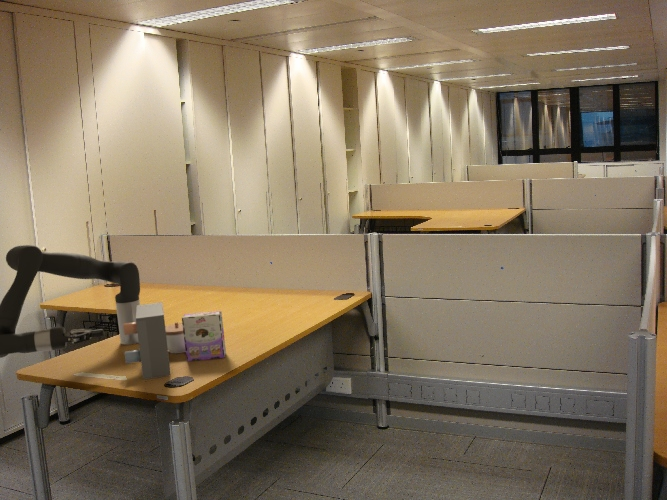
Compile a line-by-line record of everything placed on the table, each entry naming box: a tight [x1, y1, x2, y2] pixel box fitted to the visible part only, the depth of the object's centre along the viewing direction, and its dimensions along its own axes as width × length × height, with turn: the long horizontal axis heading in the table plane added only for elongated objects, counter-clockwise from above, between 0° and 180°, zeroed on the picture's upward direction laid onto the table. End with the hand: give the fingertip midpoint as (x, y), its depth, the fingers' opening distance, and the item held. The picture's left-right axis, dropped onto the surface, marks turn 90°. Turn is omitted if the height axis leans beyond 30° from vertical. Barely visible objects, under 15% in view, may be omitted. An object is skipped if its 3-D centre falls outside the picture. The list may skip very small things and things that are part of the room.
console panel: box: [136, 301, 171, 380], centre depth 232 cm, size 9×22×21 cm, turn 15°
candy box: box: [181, 310, 227, 362], centre depth 240 cm, size 14×6×16 cm, turn 92°
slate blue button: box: [124, 349, 141, 364], centre depth 225 cm, size 6×4×4 cm, turn 105°
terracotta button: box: [124, 322, 137, 335], centre depth 235 cm, size 6×4×4 cm, turn 105°
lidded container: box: [165, 321, 186, 354], centre depth 253 cm, size 13×13×11 cm
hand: (103, 332), depth 233 cm, fingers closed
